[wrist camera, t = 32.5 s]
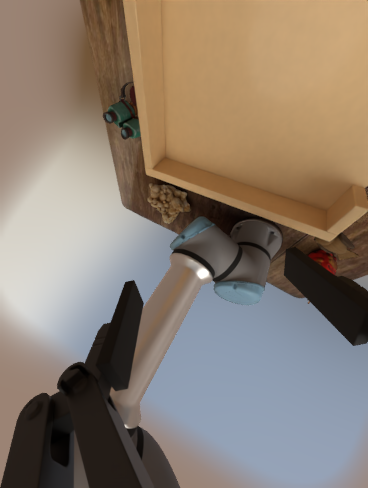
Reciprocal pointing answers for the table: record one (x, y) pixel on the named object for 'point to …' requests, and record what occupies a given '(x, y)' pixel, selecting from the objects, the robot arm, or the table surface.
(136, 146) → the table surface
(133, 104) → the binoculars
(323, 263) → the red clay folk toy
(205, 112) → the drawer stand
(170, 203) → the mineral formation
